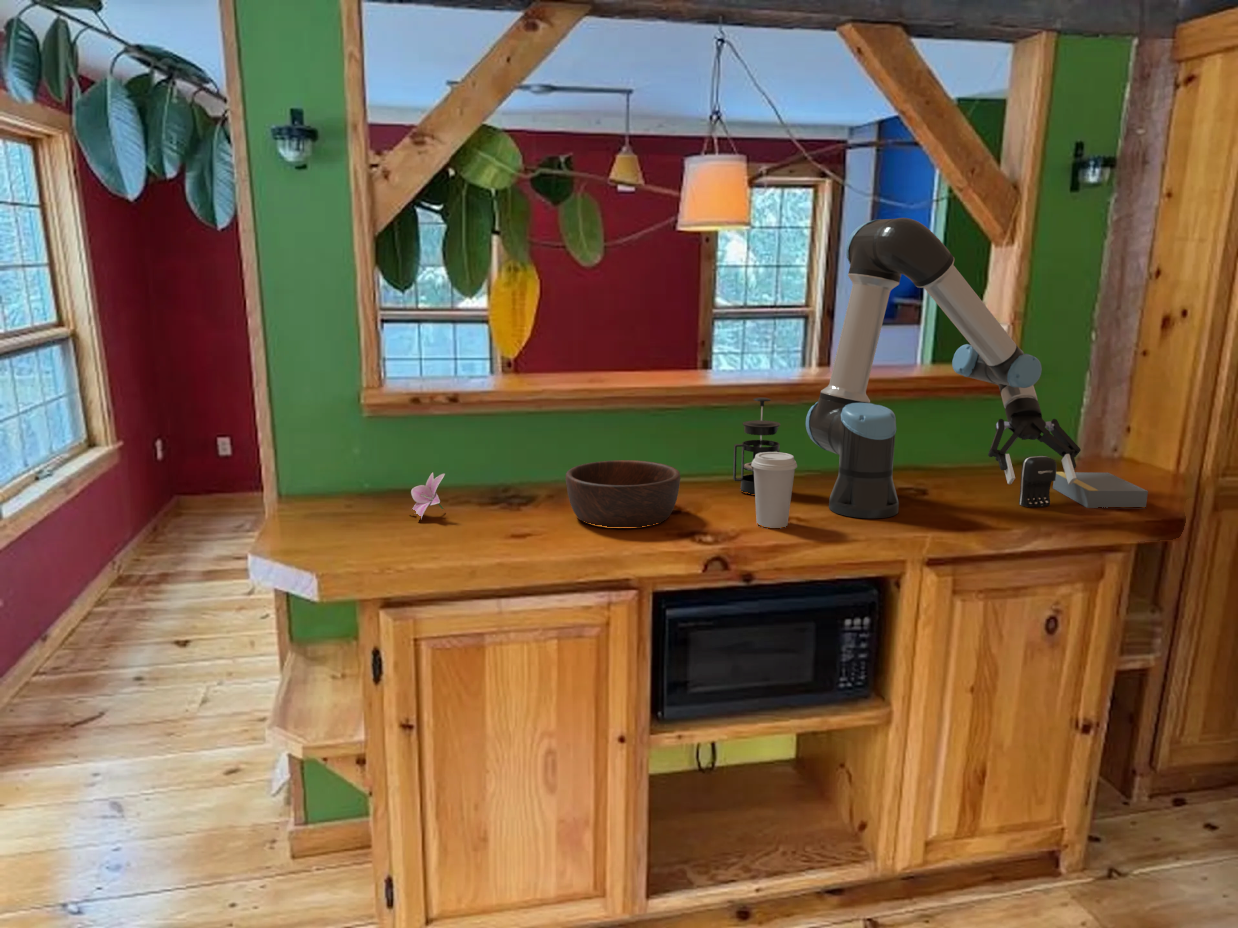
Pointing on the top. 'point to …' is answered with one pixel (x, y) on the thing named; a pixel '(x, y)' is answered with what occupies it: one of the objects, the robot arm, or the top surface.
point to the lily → (426, 494)
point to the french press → (755, 446)
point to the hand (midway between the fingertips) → (1041, 481)
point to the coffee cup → (773, 487)
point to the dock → (1101, 490)
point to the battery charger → (1036, 481)
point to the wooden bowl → (623, 492)
